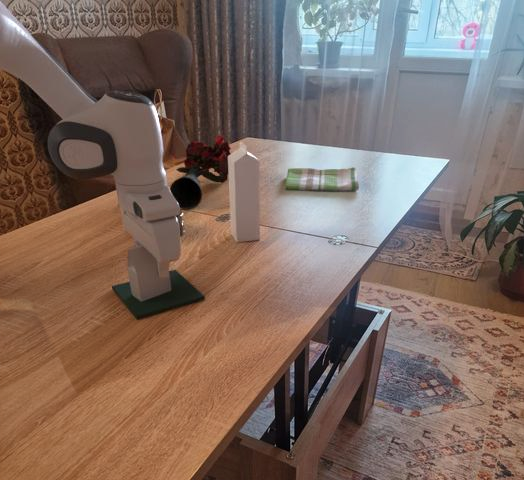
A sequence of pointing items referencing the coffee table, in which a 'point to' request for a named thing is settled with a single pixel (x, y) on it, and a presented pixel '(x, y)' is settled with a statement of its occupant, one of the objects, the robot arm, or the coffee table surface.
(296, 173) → the dish towel
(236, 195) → the milk
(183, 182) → the black vase with roses
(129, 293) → the mat
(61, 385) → the coffee table surface
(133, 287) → the white box
